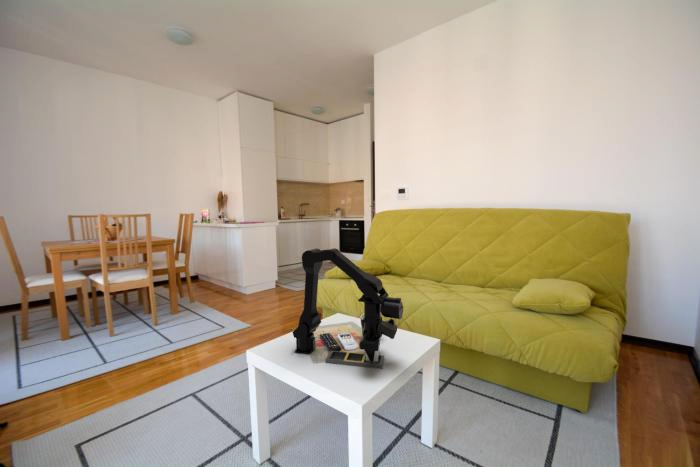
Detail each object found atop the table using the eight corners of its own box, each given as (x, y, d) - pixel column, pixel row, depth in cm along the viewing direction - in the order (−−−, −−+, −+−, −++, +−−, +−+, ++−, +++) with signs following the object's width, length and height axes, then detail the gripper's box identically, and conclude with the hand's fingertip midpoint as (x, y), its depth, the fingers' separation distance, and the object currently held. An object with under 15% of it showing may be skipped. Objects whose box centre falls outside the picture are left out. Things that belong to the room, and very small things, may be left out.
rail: (325, 364, 104) (325, 358, 104) (330, 355, 110) (330, 350, 110) (382, 370, 100) (382, 364, 100) (384, 360, 106) (384, 355, 106)
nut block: (365, 365, 102) (365, 349, 102) (367, 359, 106) (367, 343, 106) (377, 366, 101) (377, 350, 101) (379, 360, 105) (379, 344, 105)
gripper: (394, 327, 92) (394, 375, 93) (397, 307, 110) (397, 347, 111) (358, 324, 94) (359, 371, 95) (367, 305, 112) (367, 345, 113)
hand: (372, 357), depth 104 cm, fingers closed on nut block, 4 cm apart
